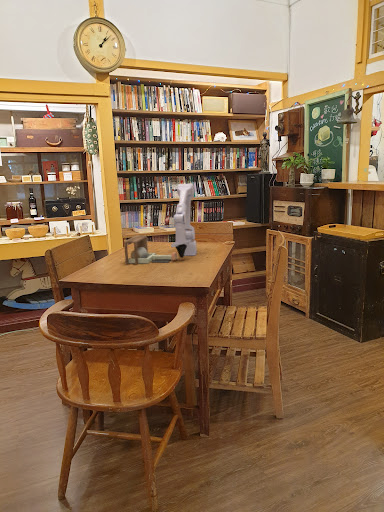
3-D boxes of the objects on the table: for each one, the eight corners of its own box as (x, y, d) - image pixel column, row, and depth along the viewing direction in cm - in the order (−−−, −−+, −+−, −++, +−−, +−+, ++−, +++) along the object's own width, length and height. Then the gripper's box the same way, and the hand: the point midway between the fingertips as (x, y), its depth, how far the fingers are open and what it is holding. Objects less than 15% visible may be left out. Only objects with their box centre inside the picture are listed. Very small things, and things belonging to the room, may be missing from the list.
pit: (172, 258, 222) (172, 257, 222) (168, 262, 211) (168, 262, 211) (156, 258, 224) (156, 257, 224) (151, 262, 213) (151, 262, 212)
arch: (148, 256, 230) (146, 235, 227) (137, 264, 209) (135, 241, 206) (137, 256, 231) (135, 235, 228) (125, 264, 210) (123, 241, 208)
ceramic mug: (130, 261, 218) (129, 248, 216) (138, 258, 225) (137, 246, 223) (144, 263, 213) (143, 250, 211) (152, 260, 220) (152, 247, 218)
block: (179, 256, 224) (179, 250, 223) (173, 263, 208) (172, 256, 207) (134, 256, 229) (134, 250, 228) (125, 263, 213) (124, 256, 212)
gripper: (183, 232, 220) (184, 254, 223) (166, 235, 209) (168, 258, 212) (192, 233, 215) (193, 255, 218) (175, 236, 205) (176, 260, 208)
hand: (181, 257), depth 215 cm, fingers closed
